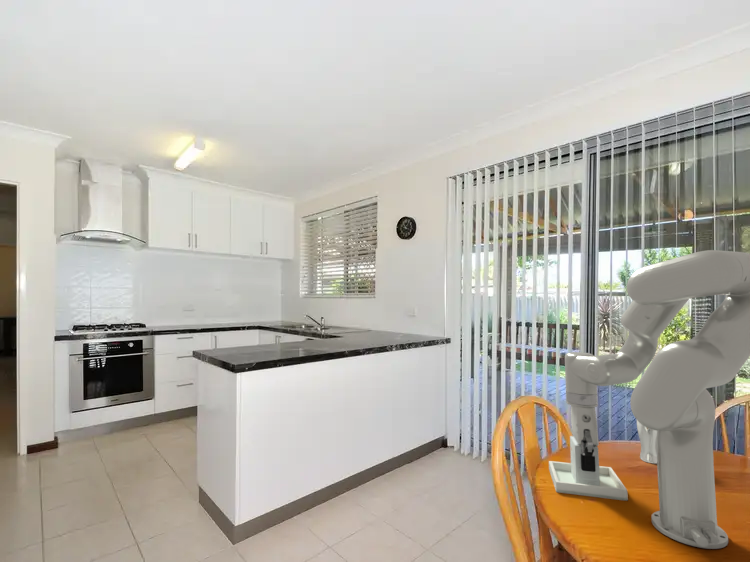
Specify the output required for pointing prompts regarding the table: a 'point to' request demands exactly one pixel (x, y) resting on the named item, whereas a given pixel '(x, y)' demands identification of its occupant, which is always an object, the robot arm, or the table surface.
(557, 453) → the table surface
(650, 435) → the beer glass
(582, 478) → the small box
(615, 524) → the table surface
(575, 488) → the carrier tray
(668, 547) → the table surface
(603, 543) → the table surface
